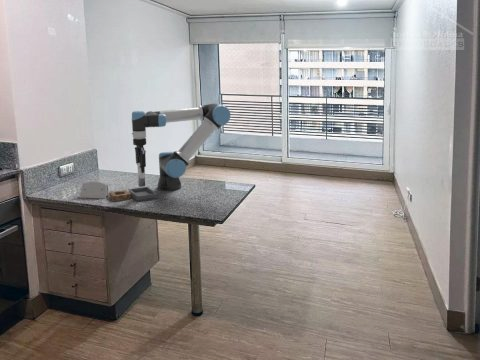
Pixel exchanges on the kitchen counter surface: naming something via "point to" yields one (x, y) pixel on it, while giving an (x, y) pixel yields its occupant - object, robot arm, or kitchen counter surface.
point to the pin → (140, 180)
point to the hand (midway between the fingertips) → (141, 176)
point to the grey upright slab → (94, 190)
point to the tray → (143, 194)
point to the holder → (119, 195)
